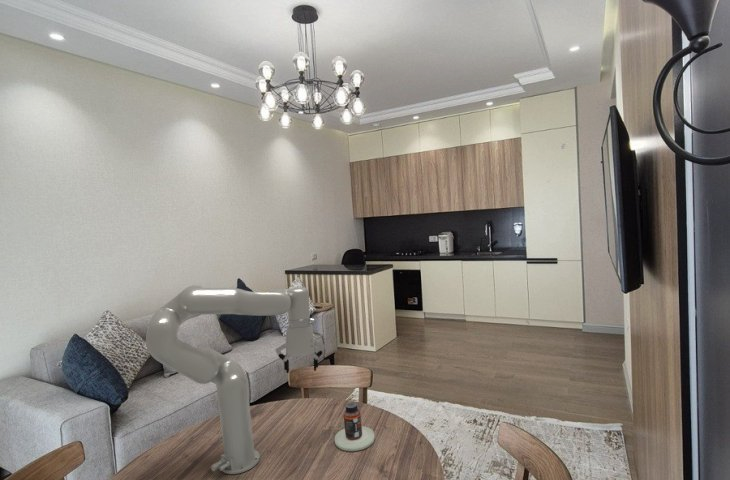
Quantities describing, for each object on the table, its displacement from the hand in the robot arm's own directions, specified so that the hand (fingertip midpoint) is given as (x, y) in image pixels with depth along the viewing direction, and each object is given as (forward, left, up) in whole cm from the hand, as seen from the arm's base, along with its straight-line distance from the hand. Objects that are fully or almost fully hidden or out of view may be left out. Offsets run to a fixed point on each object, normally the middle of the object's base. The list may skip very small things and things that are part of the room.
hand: (301, 370), depth 141 cm
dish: (+8, -15, -26) cm, 31 cm away
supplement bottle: (+8, -14, -25) cm, 30 cm away
